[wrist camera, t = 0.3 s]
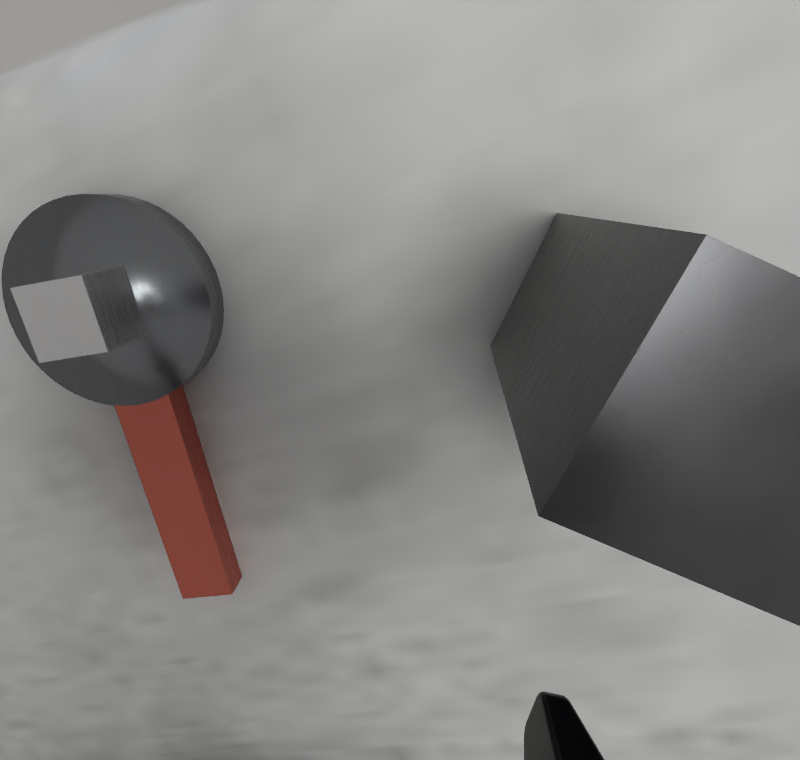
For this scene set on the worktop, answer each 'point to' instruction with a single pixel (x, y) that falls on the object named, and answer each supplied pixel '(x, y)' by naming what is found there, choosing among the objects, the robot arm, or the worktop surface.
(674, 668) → the worktop surface
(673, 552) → the brushed metal block
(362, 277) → the worktop surface
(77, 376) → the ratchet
